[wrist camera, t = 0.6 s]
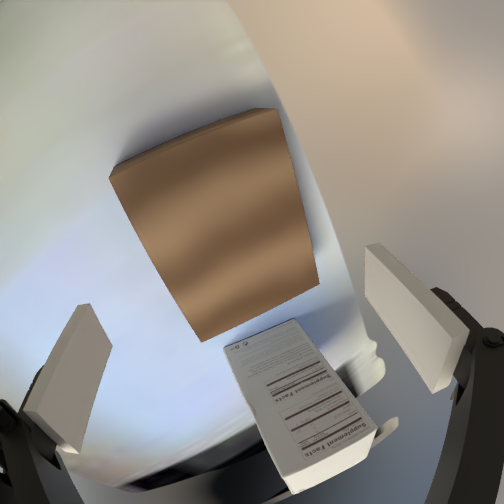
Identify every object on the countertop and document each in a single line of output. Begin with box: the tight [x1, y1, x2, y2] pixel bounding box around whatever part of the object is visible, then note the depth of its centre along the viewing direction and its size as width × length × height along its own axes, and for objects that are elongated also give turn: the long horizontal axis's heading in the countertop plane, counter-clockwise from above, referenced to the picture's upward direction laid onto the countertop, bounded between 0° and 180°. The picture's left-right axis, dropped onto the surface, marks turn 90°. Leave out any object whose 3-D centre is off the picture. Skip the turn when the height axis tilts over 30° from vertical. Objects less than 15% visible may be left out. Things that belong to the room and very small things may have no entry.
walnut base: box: [109, 108, 320, 343], centre depth 24 cm, size 16×12×4 cm
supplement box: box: [223, 319, 377, 494], centre depth 29 cm, size 10×9×17 cm
